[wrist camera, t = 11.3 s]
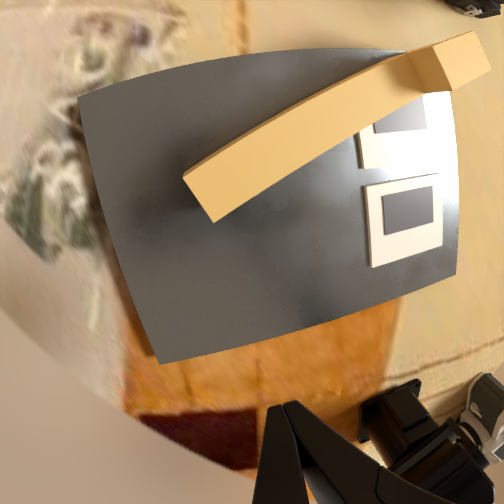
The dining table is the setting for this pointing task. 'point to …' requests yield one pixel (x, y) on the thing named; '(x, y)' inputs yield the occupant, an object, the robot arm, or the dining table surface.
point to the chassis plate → (248, 204)
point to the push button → (479, 7)
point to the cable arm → (329, 121)
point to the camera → (485, 416)
